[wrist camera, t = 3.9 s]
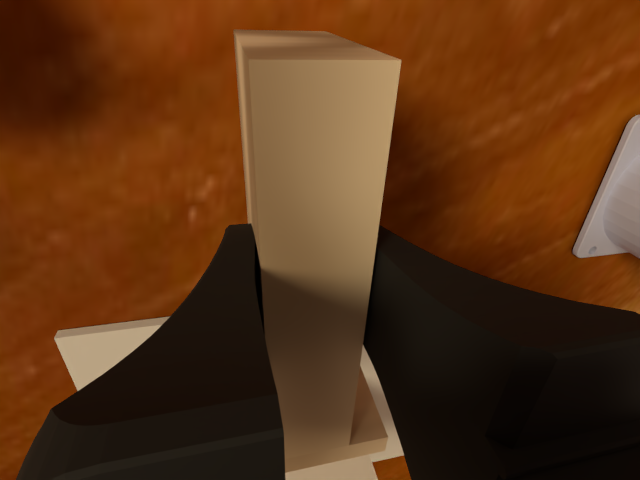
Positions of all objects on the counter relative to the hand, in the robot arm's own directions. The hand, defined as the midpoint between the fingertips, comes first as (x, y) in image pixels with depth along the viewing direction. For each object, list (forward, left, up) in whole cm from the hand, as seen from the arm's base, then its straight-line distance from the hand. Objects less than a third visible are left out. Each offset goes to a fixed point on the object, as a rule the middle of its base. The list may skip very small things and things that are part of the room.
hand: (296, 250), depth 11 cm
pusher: (0, 0, -2) cm, 2 cm away
